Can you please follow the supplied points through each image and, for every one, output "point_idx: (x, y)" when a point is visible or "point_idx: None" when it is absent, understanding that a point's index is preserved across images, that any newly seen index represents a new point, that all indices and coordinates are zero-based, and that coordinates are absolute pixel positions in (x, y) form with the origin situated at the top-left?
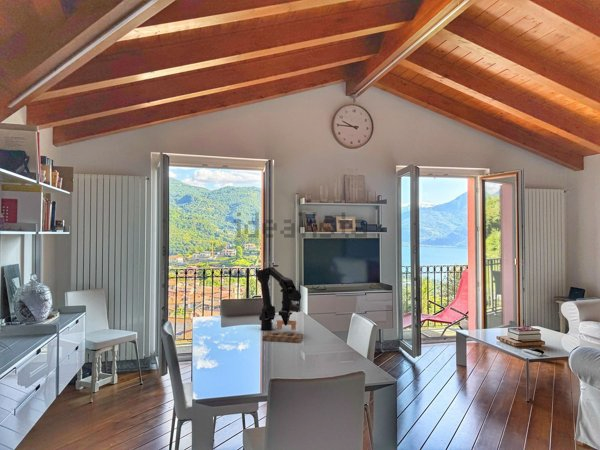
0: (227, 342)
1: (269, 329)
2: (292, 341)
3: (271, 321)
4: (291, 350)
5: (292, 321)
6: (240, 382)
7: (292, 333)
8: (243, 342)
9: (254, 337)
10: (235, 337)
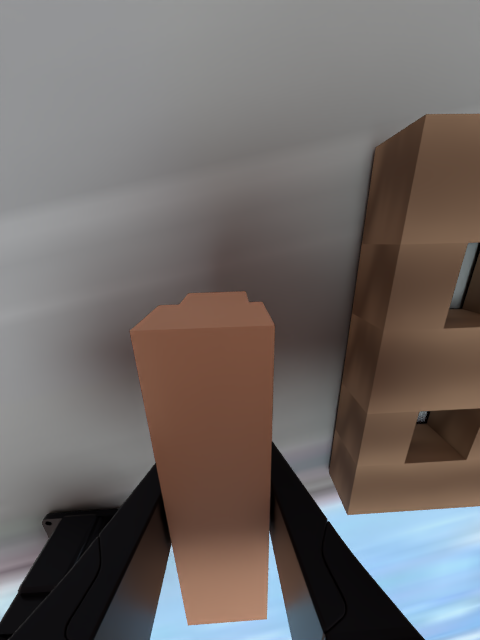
0: (469, 581)
1: (108, 520)
2: None
3: (22, 608)
4: None
5: (237, 408)
6: None
7: (410, 283)
8: (475, 532)
9: (348, 524)
10: None
